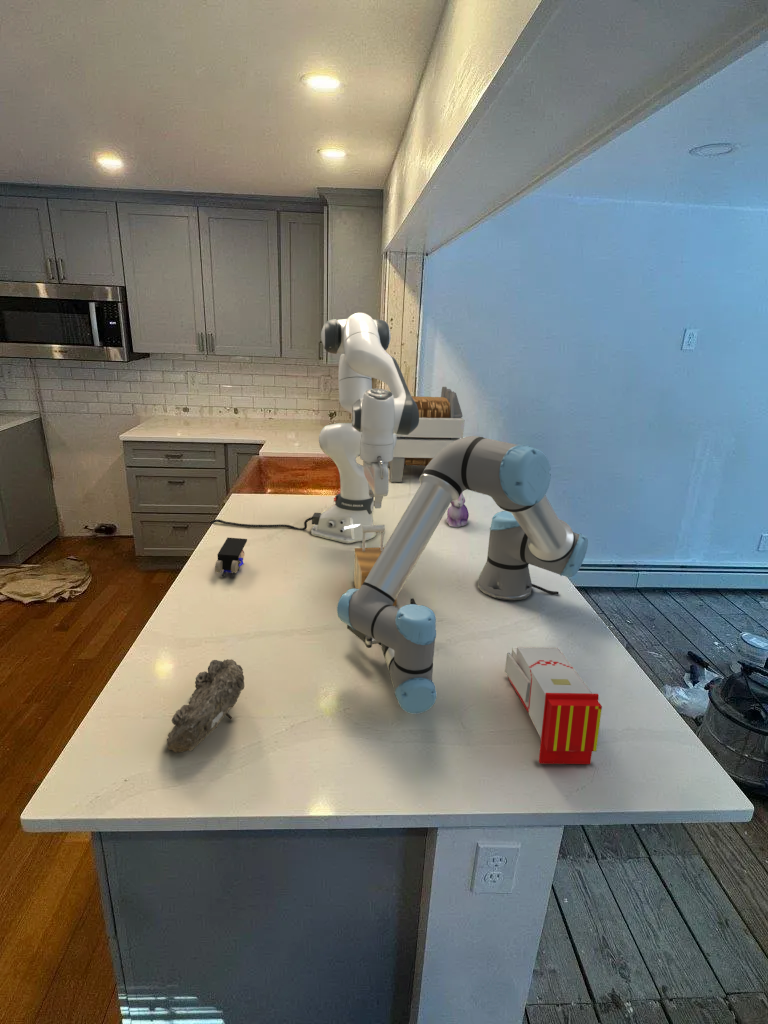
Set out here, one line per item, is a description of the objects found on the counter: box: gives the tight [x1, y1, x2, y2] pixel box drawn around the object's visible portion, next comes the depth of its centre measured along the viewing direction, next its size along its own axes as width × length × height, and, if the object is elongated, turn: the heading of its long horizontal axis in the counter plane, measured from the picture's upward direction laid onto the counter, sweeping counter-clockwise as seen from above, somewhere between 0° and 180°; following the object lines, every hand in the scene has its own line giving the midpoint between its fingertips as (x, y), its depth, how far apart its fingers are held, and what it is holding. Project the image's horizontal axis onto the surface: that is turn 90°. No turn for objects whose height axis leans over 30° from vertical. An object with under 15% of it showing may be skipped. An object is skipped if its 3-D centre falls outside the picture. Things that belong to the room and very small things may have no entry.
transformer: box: [387, 386, 465, 483], centre depth 268 cm, size 34×33×41 cm
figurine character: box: [214, 537, 248, 578], centre depth 166 cm, size 7×8×15 cm
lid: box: [353, 524, 386, 576], centre depth 153 cm, size 16×10×9 cm, turn 10°
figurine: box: [446, 492, 470, 528], centre depth 210 cm, size 9×10×15 cm
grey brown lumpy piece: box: [166, 658, 245, 754], centre depth 106 cm, size 22×10×15 cm
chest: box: [353, 554, 398, 607], centre depth 156 cm, size 15×10×9 cm, turn 10°
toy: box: [504, 646, 603, 765], centre depth 112 cm, size 12×13×30 cm
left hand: (374, 501), depth 154 cm, fingers open, 8 cm apart
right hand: (384, 604), depth 139 cm, fingers open, 13 cm apart
